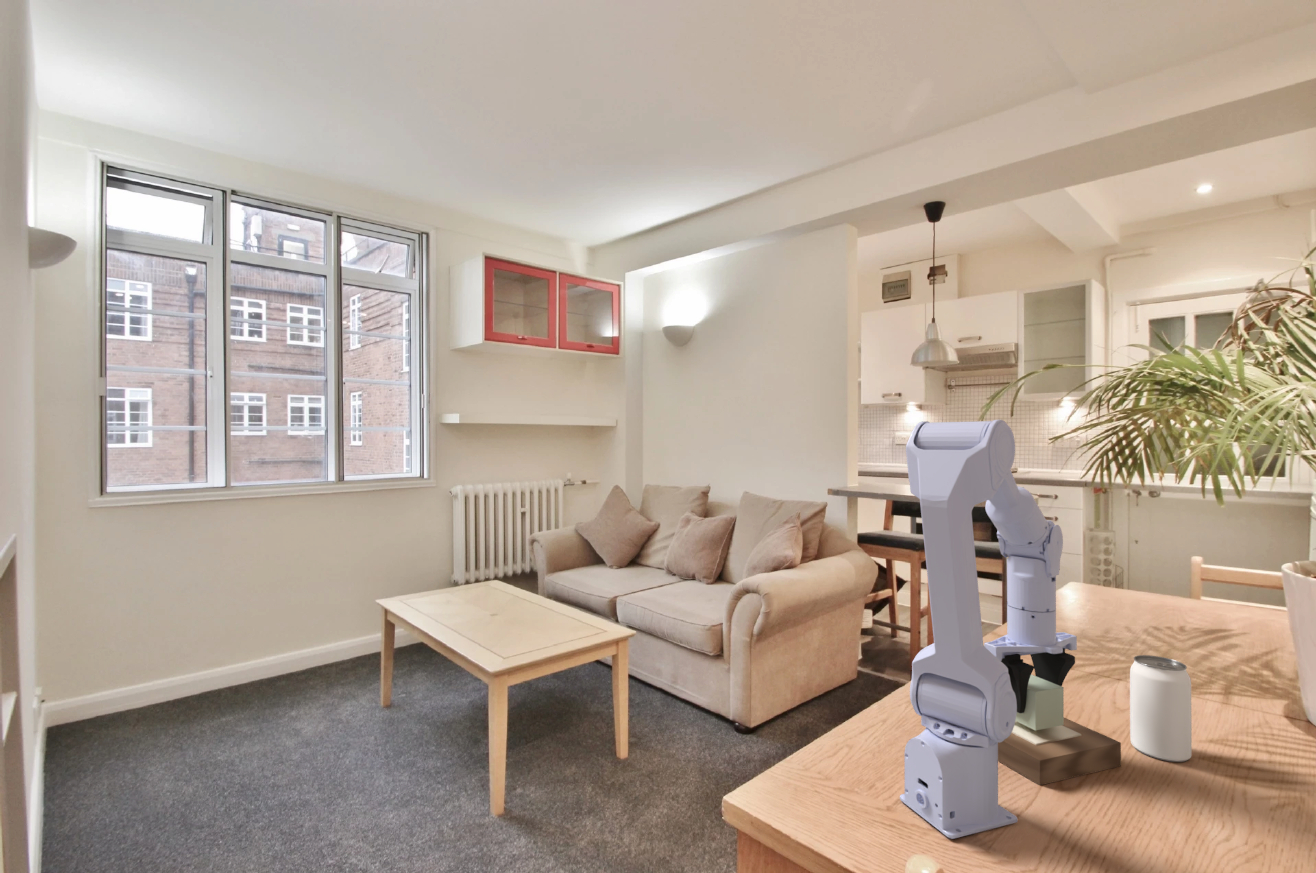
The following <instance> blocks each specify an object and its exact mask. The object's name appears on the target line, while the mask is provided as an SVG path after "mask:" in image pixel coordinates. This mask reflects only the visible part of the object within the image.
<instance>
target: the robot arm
mask: <svg viewBox="0 0 1316 873" xmlns="http://www.w3.org/2000/svg"><path fill="white" fill-rule="evenodd" d="M1015 440H1016V439H1015V437H1014V432H1013V430H1012V428H1011V427H1010V425H1009V424H1008V423H1007V422H1006V421H1004V420H1003V419H993V420H983V421H982V420H981V421H980V420H978V421H940V422H939V421H937V422H936V421H935V422H930V421H920V422H918V423H917V424H916V425H915V426H914V428H913V429H912V431H911V432H910V436H909V438H908V440H907V442H906V446H905V454H906V463H907V464H906V466H907V474H908V475H907V476H908V482H909V490H910V494H912V495H913V496H914V497H916V498H917V499H918V500H919V504H920V513H921V514H920V515H921V523H922V526H921V527H922V534H923V543H924V556H925V565H926V573H927V574H926V575H927V584H928V592H929V593H928V594H929V603H930V604H929V605H930V614H931V624H932V625H931V626H932V634H933V635H932V636H933V642H932V644H929V645H927V646H925V647H923V648H922V649H921V650H919V652H918V653H917V654H916V655H915V657H914V659H913V660H912V662H911V666H912V667H911V670H912V671H911V680H910V686H909V698H910V703H911V705H912V708H913V711H914V712H915V713H916V714H917V715H918V716H920V717H921V718H920V725H921V726H923V727H925V729H924V730H923V731H922V732H920V734H918V735H916V736H914V737H912V738H910V739H909V740H908V741H907V743H906V745H905V748H904V793H902V794H900V795H899V800H900V801H901V802H902V803H904V805H906V806H907V807H908V808H910V809H911V810H912V811H913V812H915V813H916V814H918V815H919V816H920V817H922V819H924V820H925V821H926V822H928V823H929V824H931V826H933V827H935V828H936V829H937V830H938V831H940V833H942V834H943V835H944V836H946V837H947V838H948V839H953V840H954V839H957V838H960V837H961V838H962V837H965V836H970V835H973V834H977V833H982V832H985V831H989V830H993V829H996V828H1000V827H1004V826H1008V825H1012V824H1015V823H1018V817H1017V816H1016V815H1015V814H1014V813H1012V812H1010V811H1009V810H1007V809H1006V808H1004V807H1002V806H1001V805H999V762H998V742H1002V741H1004V740H1005V739H1006V738H1008V737H1009V736H1010V734H1011V733H1012V730H1013V728H1014V725H1015V720H1016V714H1017V712H1018V713H1024V711H1025V707H1026V697H1027V687H1028V682H1029V679H1030V676H1031V674H1032V673H1033V672H1034V676H1037V677H1039V678H1042V679H1044V680H1047V681H1049V682H1052V683H1054V684H1057V685H1059V686H1062V687H1063V684H1064V681H1065V679H1066V678H1067V675H1068V673H1069V672H1070V670H1072V668H1073V666H1074V665H1076V657H1075V656H1074V655H1073V654H1071V653H1067V652H1066V650H1068V651H1076V650H1078V644H1077V643H1078V642H1077V641H1078V640H1077V638H1078V637H1077V635H1074V634H1072V633H1071V634H1070V633H1068V632H1064V631H1062V632H1061V631H1059V632H1057V582H1056V581H1057V576H1058V575H1060V570H1061V568H1060V567H1061V558H1062V554H1063V547H1064V546H1063V545H1064V539H1063V531H1062V528H1061V526H1060V525H1059V524H1055V523H1054V521H1053V520H1050V519H1049V520H1047V519H1046V517H1045V515H1044V513H1043V512H1042V510H1041V509H1040V508H1041V507H1040V506H1039V505H1038V503H1037V501H1036V500H1035V498H1034V496H1033V494H1032V493H1031V492H1030V491H1029V490H1028V489H1026V488H1025V487H1024V486H1023V487H1022V486H1018V485H1017V482H1016V479H1015V477H1014V475H1013V472H1012V468H1013V465H1014V463H1015V462H1014V461H1015V456H1016V441H1015ZM984 502H985V505H984V507H985V508H984V509H985V512H986V514H987V516H988V518H989V519H990V521H991V523H992V524H993V525H994V527H995V528H996V530H997V532H996V537H997V539H998V546H999V552H1000V555H1002V556H1003V557H1004V558H1007V559H1006V601H1007V602H1006V626H1007V628H1006V634H1004V635H1003V636H1000V637H997V638H995V639H994V640H992V641H986V642H984V638H983V627H982V626H983V625H982V614H981V613H982V612H981V606H980V605H981V604H980V603H981V602H980V594H979V593H980V592H979V582H978V581H979V580H978V570H977V559H976V548H975V537H974V536H975V535H974V527H973V509H974V507H975V506H976V505H978V504H981V503H984ZM1027 655H1030V658H1031V661H1032V664H1033V665H1031V664H1029V663H1027V662H1024V659H1022V658H1021V656H1027Z"/></svg>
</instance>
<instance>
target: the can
mask: <svg viewBox="0 0 1316 873" xmlns="http://www.w3.org/2000/svg"><path fill="white" fill-rule="evenodd" d="M1133 660H1134V661H1133V663H1132V664H1131V666H1130V668H1129V736H1130V737H1129V739H1130V743H1131V745H1132V746H1133V748H1135V750H1137V751H1138V752H1139V753H1141V754H1143V755H1145V756H1148V757H1150V758H1153V759H1156V760H1161V761H1165V762H1170V763H1171V762H1172V763H1185V762H1187V761H1188V760H1190V759H1191V758H1192V751H1193V750H1192V747H1193V745H1192V743H1193V742H1192V728H1193V727H1192V724H1193V723H1192V679H1191V677H1190V675H1189V673H1188V671H1187V669H1188V666H1187V664H1184V662H1183V663H1182V662H1181V661H1178V660H1175V659H1172V658H1168V657H1163V656H1158V655H1149V654H1146V655H1145V654H1143V655H1142V654H1140V655H1135V656H1134V657H1133Z"/></svg>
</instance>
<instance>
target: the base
mask: <svg viewBox="0 0 1316 873" xmlns="http://www.w3.org/2000/svg"><path fill="white" fill-rule="evenodd" d="M1121 744H1122V743H1121V742H1120V741H1118V740H1116V739H1113V738H1111V737H1110V736H1107V735H1105V734H1102V733H1101V732H1099V731H1095V730H1094V729H1091V728H1090V727H1087V726H1085V725H1082V724H1080V723H1078V722H1076V721H1073V720H1071V719H1069V718H1067V717H1064V725H1061V726H1056V727H1051V728H1046V729H1041V730H1036V731H1035V730H1033V729H1031V728H1029V727H1027V726H1025V725H1023V724H1021V723H1019V722H1017V721H1015V725H1014V728H1013V730H1012V733H1011V734H1010V736H1009V737H1008V738H1006V739H1005V740H1004V741H1002V742H998V763H1000V764H1002V765H1004V766H1005V767H1007V768H1009V769H1011V770H1013V771H1014V772H1016V773H1018V774H1019V775H1021V776H1023V777H1025V778H1026V779H1028V780H1030V781H1032V782H1034V784H1037V785H1038V786H1042V785H1046V784H1050V783H1055V782H1059V781H1063V780H1068V779H1071V778H1072V779H1073V778H1075V777H1081V776H1084V775H1088V774H1093V773H1096V772H1097V773H1098V772H1102V771H1105V770H1110V769H1114V768H1118V767H1121V765H1122V763H1121V762H1122V751H1121V749H1122V747H1121V746H1122V745H1121Z"/></svg>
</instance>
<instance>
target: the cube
mask: <svg viewBox="0 0 1316 873" xmlns="http://www.w3.org/2000/svg"><path fill="white" fill-rule="evenodd" d="M1064 692H1065V691H1064V687H1063V685H1062V686H1059V685H1057V684H1054V683H1052V682H1049V681H1047V680H1044V679H1042V678H1039V677H1037V676H1035V674H1034V675H1033V674H1032V673H1031V676H1030V679H1029V682H1028V687H1027V697H1026V707H1025V711H1024V713H1018V712H1017V714H1016V720H1015V721H1017V722H1019V723H1021V724H1023V725H1025V726H1027V727H1029V728H1031V729H1033V730H1035V731H1036V730H1041V729H1046V728H1051V727H1056V726H1061V725H1064V718H1065V717H1064V711H1065V710H1064V708H1065V707H1064V704H1065V703H1064V696H1065V695H1064Z"/></svg>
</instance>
